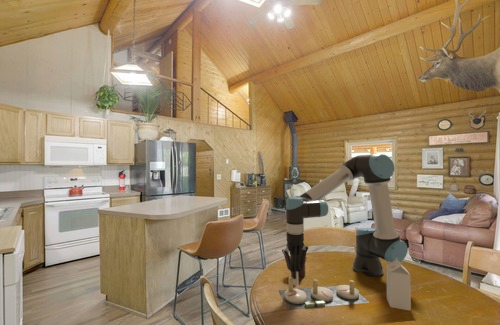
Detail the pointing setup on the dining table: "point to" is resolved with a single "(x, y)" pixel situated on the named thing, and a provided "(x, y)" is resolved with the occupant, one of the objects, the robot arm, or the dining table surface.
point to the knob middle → (321, 292)
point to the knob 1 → (294, 294)
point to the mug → (301, 269)
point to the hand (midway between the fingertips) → (295, 285)
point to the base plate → (315, 303)
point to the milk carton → (398, 286)
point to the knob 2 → (348, 290)
